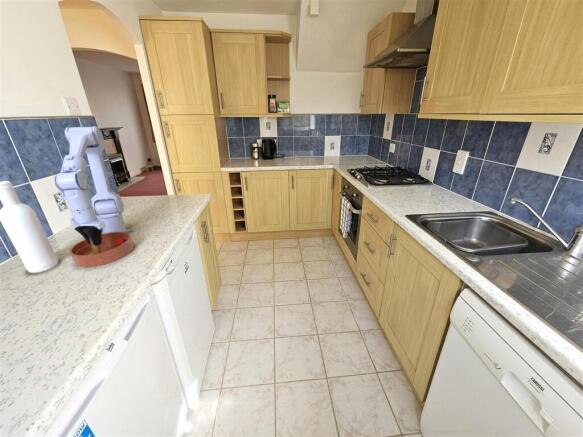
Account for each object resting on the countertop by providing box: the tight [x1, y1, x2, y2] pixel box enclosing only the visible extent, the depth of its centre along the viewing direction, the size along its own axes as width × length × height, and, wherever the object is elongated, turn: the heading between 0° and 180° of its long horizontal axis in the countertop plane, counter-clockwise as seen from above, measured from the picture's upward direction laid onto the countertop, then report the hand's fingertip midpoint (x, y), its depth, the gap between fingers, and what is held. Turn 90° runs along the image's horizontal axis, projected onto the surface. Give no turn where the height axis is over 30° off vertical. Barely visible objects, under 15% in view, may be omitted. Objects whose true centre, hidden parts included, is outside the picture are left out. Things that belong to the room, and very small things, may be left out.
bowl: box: [68, 232, 135, 268], centre depth 89 cm, size 18×18×5 cm
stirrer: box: [89, 238, 105, 255], centre depth 86 cm, size 6×6×8 cm
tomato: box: [115, 238, 125, 246], centre depth 95 cm, size 3×3×3 cm
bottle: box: [0, 180, 59, 274], centre depth 78 cm, size 8×8×30 cm
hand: (95, 243), depth 86 cm, fingers closed on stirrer, 2 cm apart
